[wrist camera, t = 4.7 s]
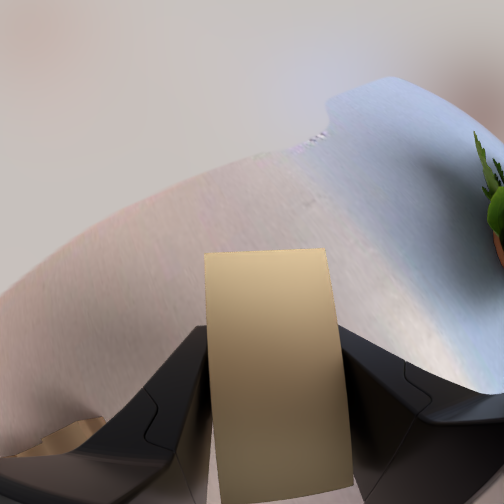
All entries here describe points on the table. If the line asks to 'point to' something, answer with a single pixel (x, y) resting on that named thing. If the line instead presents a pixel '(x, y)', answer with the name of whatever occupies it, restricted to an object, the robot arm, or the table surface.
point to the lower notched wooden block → (65, 438)
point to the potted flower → (494, 201)
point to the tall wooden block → (276, 376)
